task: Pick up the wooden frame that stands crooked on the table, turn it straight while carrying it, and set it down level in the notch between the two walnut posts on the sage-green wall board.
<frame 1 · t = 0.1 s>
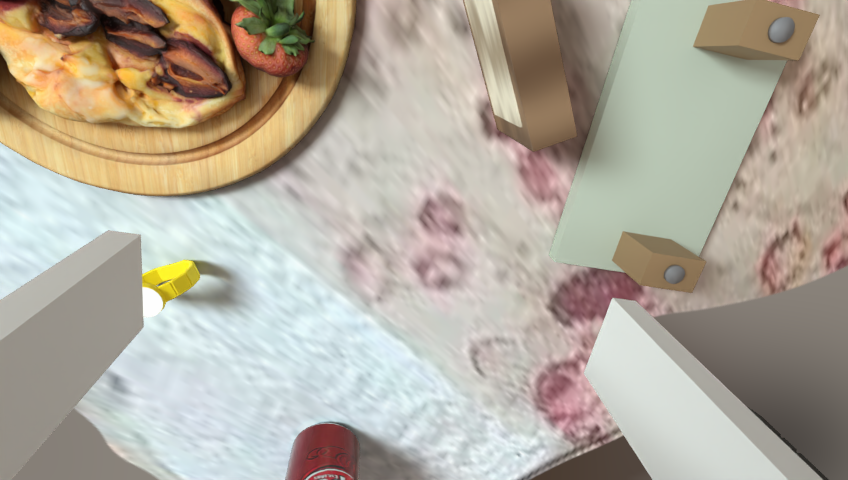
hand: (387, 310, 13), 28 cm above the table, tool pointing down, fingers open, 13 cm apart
soda can: (327, 443, 51), on the table
wall board: (661, 145, 41), on the table
wooden frame: (494, 44, 37), on the table
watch: (174, 269, 41), on the table
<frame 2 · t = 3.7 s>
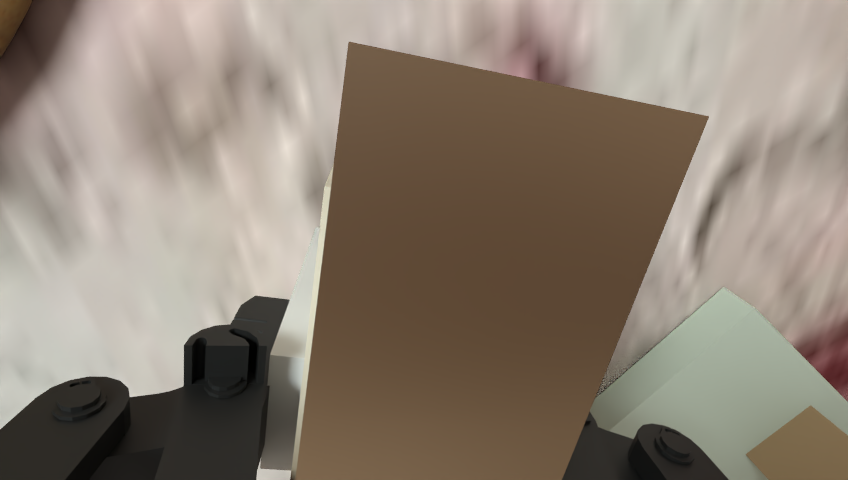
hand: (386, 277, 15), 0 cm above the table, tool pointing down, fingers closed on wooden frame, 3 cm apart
wooden frame: (387, 268, 15), on the table, touching gripper
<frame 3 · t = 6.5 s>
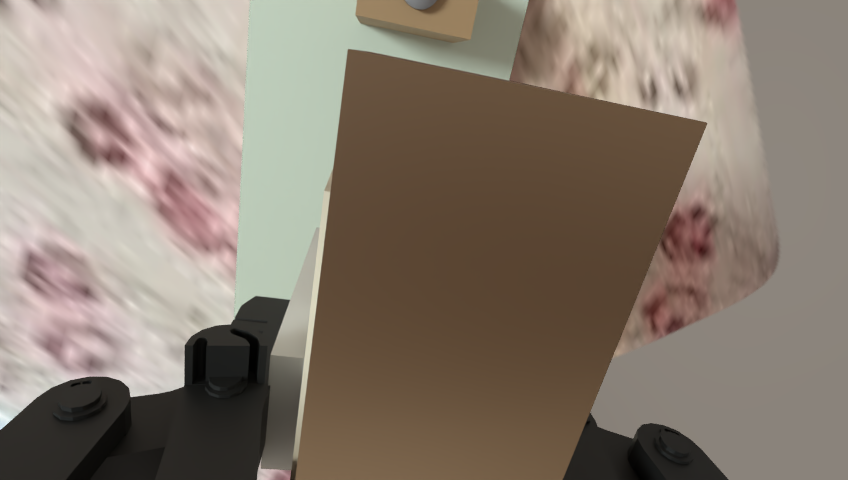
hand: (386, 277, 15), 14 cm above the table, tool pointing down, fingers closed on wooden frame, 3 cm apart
wall board: (367, 170, 28), on the table
wooden frame: (386, 270, 15), point 14 cm above the table, touching gripper
when the fingers open (3 cm above the table, at t = 9.4 s): wooden frame drops 1 cm, resting on wall board.
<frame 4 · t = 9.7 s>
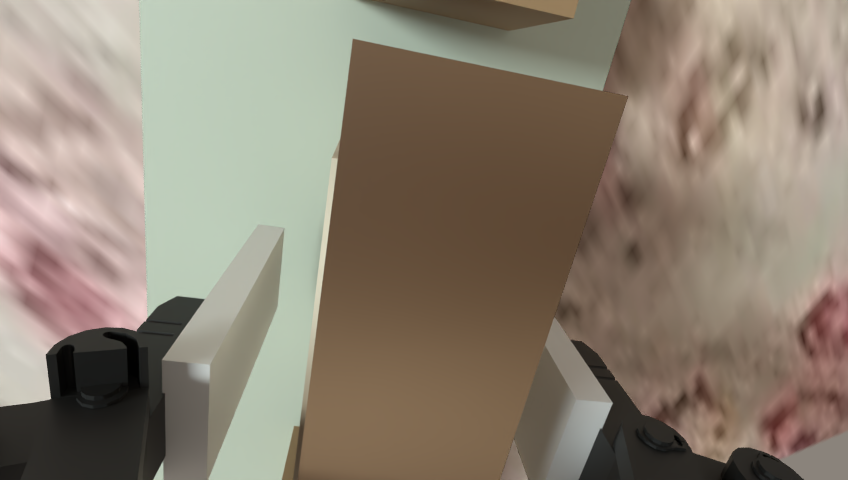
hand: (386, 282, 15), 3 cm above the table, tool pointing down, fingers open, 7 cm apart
wall board: (359, 238, 18), on the table
wooden frame: (384, 253, 16), point 2 cm above the table, touching wall board
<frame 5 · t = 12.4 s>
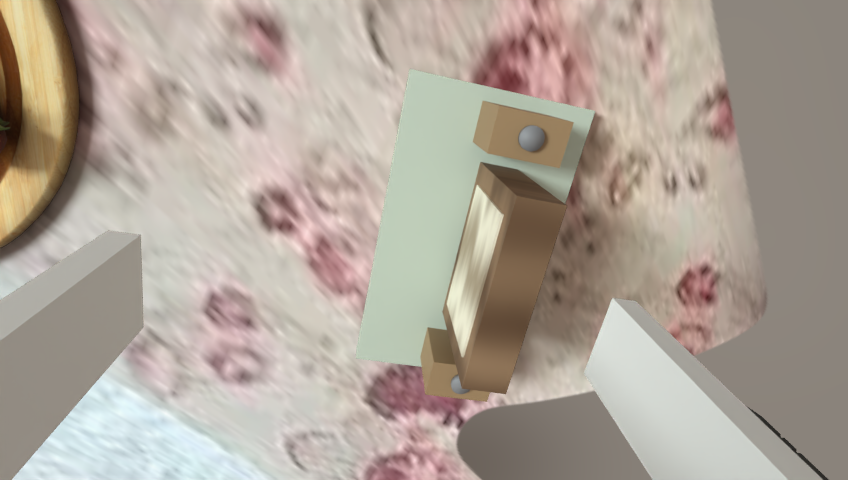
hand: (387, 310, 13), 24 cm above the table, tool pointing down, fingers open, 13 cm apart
wall board: (463, 237, 38), on the table
wooden frame: (478, 244, 37), point 1 cm above the table, touching wall board
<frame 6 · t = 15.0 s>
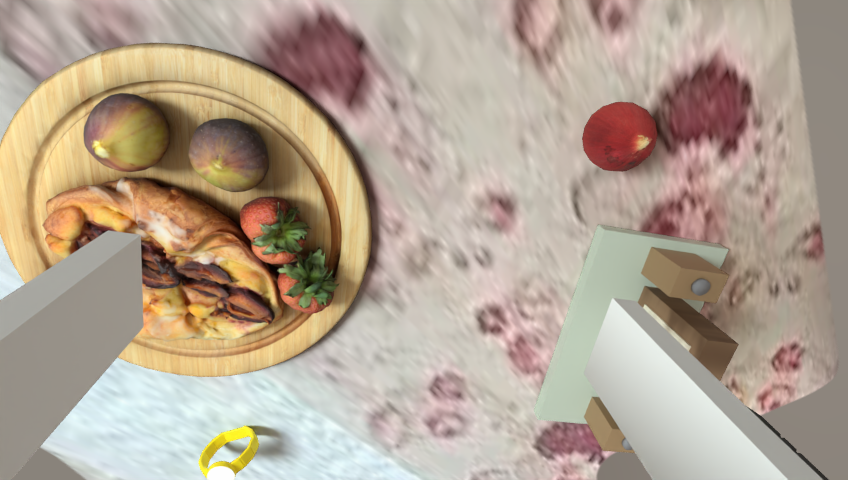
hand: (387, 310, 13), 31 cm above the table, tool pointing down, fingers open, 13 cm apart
wooden plate with food: (202, 225, 44), on the table
onion: (598, 130, 43), on the table
wall board: (620, 332, 52), on the table
wooden frame: (635, 339, 51), point 1 cm above the table, touching wall board
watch: (236, 431, 52), on the table
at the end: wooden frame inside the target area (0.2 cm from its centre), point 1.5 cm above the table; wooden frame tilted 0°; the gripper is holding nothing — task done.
